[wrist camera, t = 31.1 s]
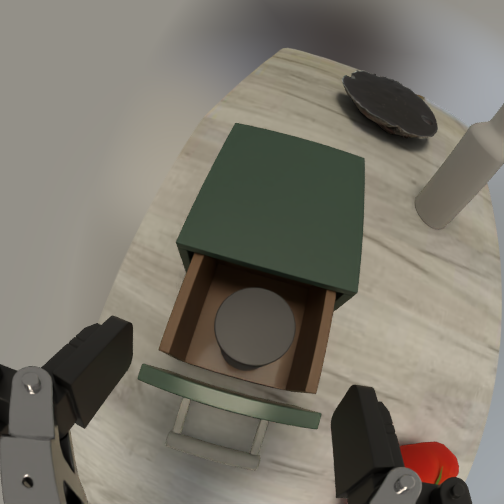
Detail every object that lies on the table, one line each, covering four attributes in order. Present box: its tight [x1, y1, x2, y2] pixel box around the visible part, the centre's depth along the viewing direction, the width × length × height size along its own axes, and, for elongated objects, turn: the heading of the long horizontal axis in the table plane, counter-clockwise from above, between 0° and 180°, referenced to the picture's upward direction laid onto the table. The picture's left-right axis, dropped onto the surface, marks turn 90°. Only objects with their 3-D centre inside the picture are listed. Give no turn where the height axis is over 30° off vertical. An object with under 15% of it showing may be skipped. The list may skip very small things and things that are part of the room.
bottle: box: [415, 104, 504, 229], centre depth 24 cm, size 7×7×28 cm
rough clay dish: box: [342, 70, 438, 138], centre depth 45 cm, size 22×22×5 cm
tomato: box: [400, 442, 459, 485], centre depth 16 cm, size 13×12×8 cm
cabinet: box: [176, 123, 365, 312], centre depth 27 cm, size 15×14×10 cm
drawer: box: [138, 252, 336, 471], centre depth 21 cm, size 18×12×8 cm
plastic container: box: [214, 287, 296, 371], centre depth 21 cm, size 5×5×9 cm
